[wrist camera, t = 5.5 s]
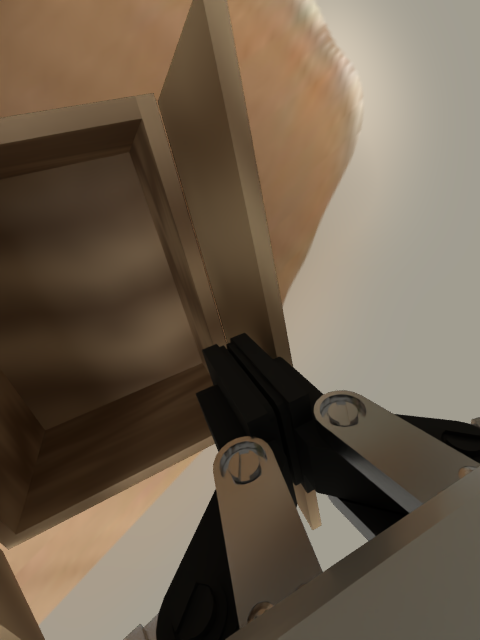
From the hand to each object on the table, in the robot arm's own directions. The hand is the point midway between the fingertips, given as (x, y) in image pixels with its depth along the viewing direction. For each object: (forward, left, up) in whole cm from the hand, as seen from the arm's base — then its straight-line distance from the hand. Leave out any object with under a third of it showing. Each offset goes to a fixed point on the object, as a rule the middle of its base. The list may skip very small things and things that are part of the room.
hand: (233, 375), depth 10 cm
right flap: (0, +1, -3) cm, 3 cm away
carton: (0, -6, -17) cm, 18 cm away
